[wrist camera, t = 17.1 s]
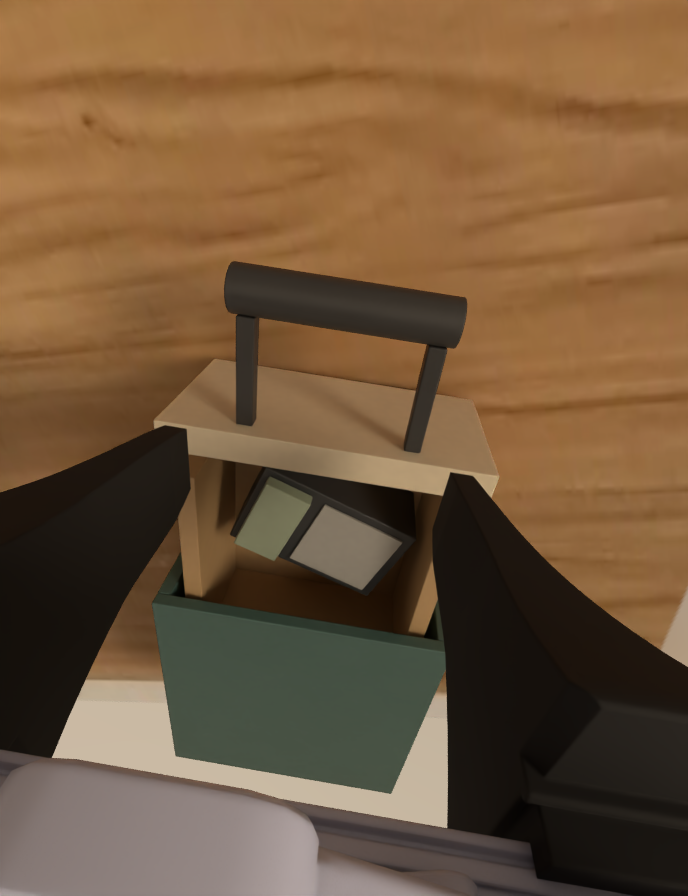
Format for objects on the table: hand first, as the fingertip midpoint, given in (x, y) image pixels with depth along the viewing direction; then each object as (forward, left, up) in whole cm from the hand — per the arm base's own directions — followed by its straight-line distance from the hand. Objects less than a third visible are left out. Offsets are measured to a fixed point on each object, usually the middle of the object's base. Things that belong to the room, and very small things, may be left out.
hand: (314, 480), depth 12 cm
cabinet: (0, -17, -10) cm, 19 cm away
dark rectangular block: (0, -7, -8) cm, 10 cm away
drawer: (0, -5, -9) cm, 10 cm away
